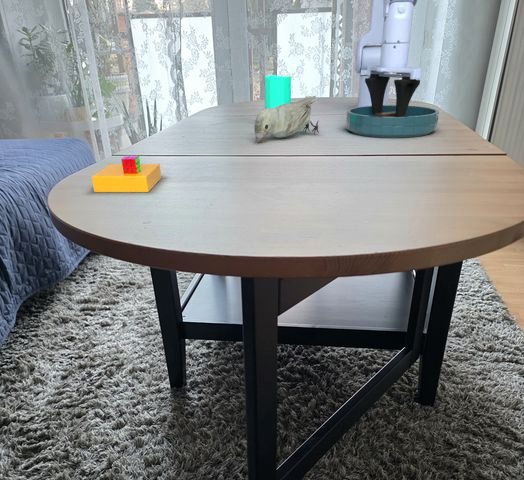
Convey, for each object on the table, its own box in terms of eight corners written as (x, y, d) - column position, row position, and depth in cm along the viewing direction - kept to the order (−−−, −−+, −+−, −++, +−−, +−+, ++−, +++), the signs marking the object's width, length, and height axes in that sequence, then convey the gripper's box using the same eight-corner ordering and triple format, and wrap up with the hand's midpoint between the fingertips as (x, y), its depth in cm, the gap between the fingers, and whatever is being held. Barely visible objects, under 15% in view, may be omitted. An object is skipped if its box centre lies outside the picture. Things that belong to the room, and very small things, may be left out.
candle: (261, 125, 121) (259, 68, 115) (283, 123, 123) (283, 67, 117) (271, 129, 117) (271, 69, 110) (295, 127, 119) (295, 68, 112)
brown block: (393, 123, 116) (395, 110, 115) (401, 124, 114) (403, 112, 113) (373, 125, 114) (374, 113, 112) (381, 127, 112) (382, 114, 111)
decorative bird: (248, 141, 104) (247, 101, 100) (305, 132, 113) (306, 95, 109) (265, 145, 101) (264, 103, 97) (322, 135, 109) (324, 96, 105)
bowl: (363, 121, 123) (364, 103, 121) (445, 126, 115) (448, 107, 113) (332, 134, 109) (333, 114, 107) (422, 141, 100) (425, 119, 98)
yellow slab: (93, 192, 73) (88, 161, 71) (111, 178, 80) (106, 150, 78) (148, 192, 72) (144, 161, 70) (161, 178, 79) (158, 149, 77)
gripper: (358, 43, 110) (353, 112, 117) (406, 44, 99) (397, 119, 106) (383, 42, 113) (377, 109, 120) (432, 42, 102) (422, 116, 109)
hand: (388, 113), depth 113 cm, fingers open, 7 cm apart
